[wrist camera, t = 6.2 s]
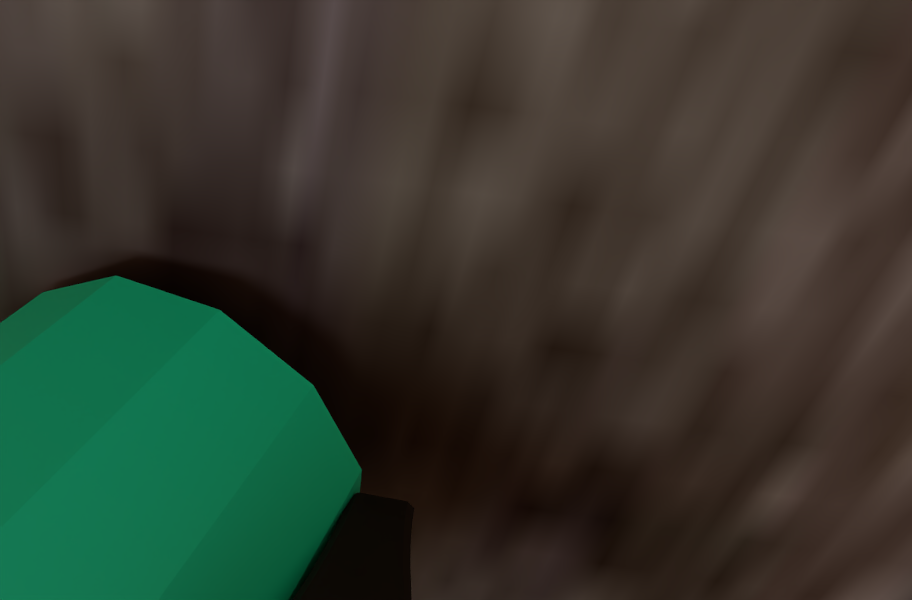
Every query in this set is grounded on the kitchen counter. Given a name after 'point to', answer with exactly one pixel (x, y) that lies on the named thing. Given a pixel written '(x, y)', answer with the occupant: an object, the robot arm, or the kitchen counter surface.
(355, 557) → the robot arm
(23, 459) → the candle
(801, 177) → the kitchen counter surface
